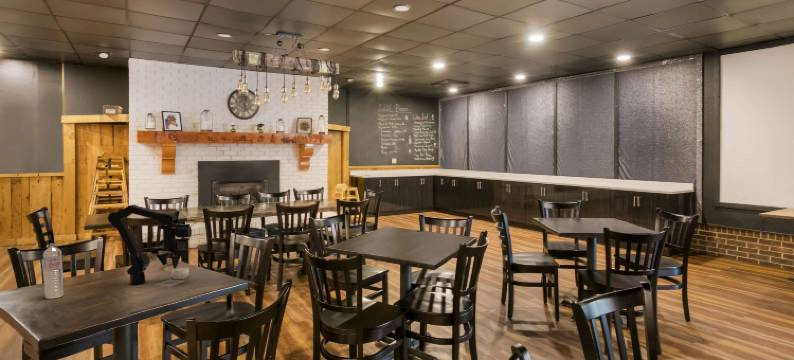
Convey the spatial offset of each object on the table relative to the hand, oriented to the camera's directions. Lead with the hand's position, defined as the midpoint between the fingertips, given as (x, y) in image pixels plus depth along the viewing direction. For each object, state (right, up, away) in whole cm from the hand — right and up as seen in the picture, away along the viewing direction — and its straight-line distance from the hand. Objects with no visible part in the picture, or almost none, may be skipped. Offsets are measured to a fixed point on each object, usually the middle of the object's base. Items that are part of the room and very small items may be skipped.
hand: (170, 267), depth 231 cm
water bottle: (-43, -10, -21) cm, 49 cm away
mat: (0, -8, 0) cm, 8 cm away
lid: (0, 0, 0) cm, 0 cm away
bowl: (0, -8, +11) cm, 13 cm away
